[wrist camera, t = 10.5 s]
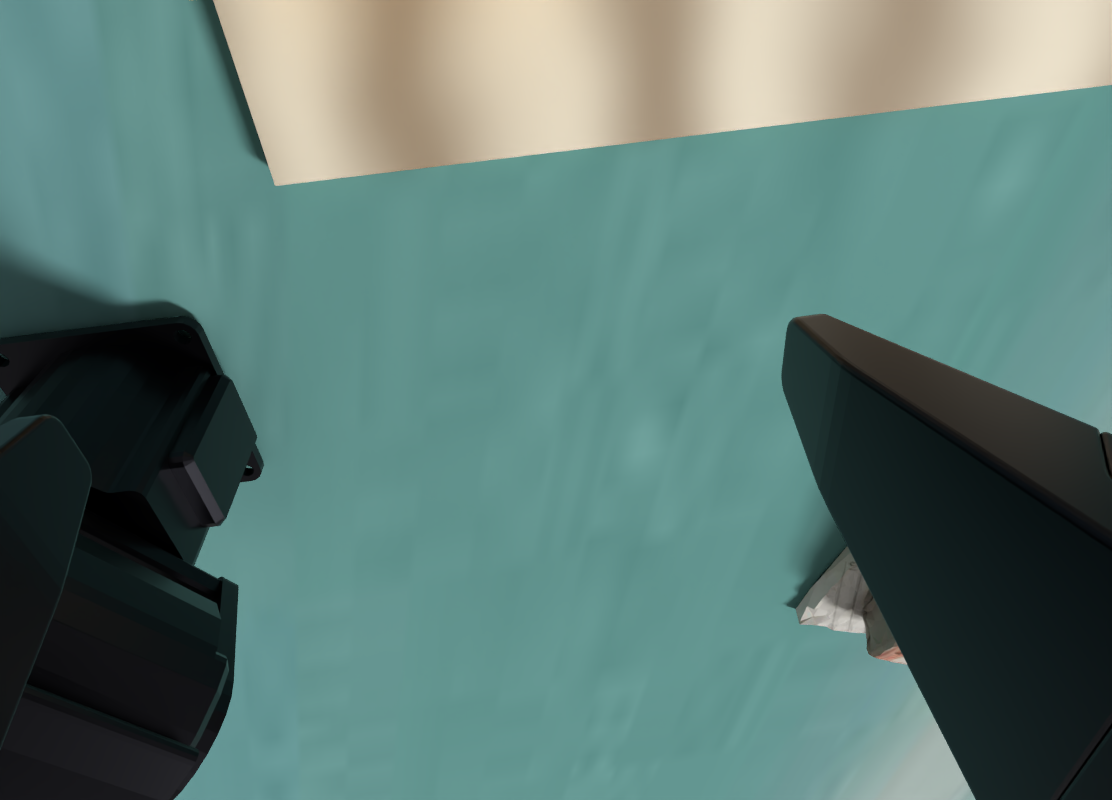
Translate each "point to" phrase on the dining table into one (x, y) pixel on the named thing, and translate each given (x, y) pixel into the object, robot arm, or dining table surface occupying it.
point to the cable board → (622, 70)
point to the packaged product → (849, 608)
